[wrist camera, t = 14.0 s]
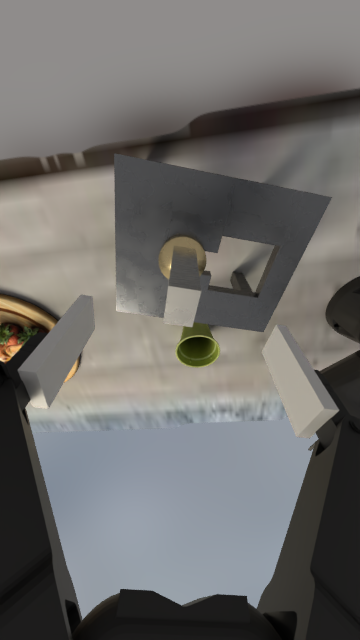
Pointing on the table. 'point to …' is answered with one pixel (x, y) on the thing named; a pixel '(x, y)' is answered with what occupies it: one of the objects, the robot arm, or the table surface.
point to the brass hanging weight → (182, 278)
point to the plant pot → (197, 346)
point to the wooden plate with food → (23, 326)
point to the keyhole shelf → (206, 236)
